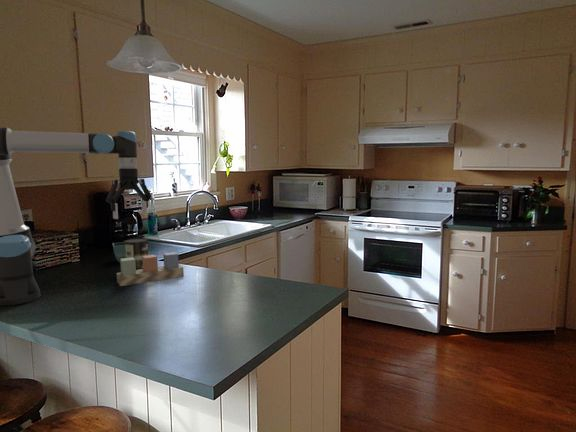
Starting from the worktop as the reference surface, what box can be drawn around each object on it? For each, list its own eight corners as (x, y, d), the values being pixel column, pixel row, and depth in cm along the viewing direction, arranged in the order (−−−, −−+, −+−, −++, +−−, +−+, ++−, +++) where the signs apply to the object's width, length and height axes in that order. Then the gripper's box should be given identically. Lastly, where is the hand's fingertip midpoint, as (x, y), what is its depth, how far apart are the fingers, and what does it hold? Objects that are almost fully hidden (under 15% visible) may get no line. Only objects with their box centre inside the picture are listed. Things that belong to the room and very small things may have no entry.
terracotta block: (146, 274, 184) (145, 258, 184) (143, 272, 189) (142, 256, 188) (158, 272, 187) (157, 256, 186) (155, 270, 191) (154, 254, 190)
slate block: (167, 271, 189) (166, 255, 188) (164, 268, 193) (163, 253, 192) (178, 269, 192) (178, 253, 191) (175, 267, 196) (174, 251, 195)
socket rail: (120, 286, 178) (119, 276, 178) (117, 282, 184) (116, 273, 184) (183, 276, 192) (183, 267, 191) (178, 272, 198) (178, 264, 197)
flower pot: (113, 260, 226) (112, 243, 225) (131, 258, 230) (130, 241, 229) (114, 263, 218) (113, 245, 217) (133, 261, 222) (132, 244, 221)
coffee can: (152, 267, 210) (150, 238, 208) (145, 272, 199) (143, 242, 198) (131, 267, 210) (129, 238, 208) (122, 273, 200) (120, 242, 198)
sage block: (123, 277, 180) (122, 261, 179) (121, 275, 184) (120, 258, 183) (136, 275, 182) (135, 259, 181) (133, 273, 187) (132, 257, 186)
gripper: (104, 168, 176) (107, 220, 179) (158, 167, 195) (160, 215, 198) (95, 168, 181) (98, 219, 184) (149, 167, 200) (151, 213, 202)
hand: (130, 217), depth 191 cm, fingers open, 13 cm apart
